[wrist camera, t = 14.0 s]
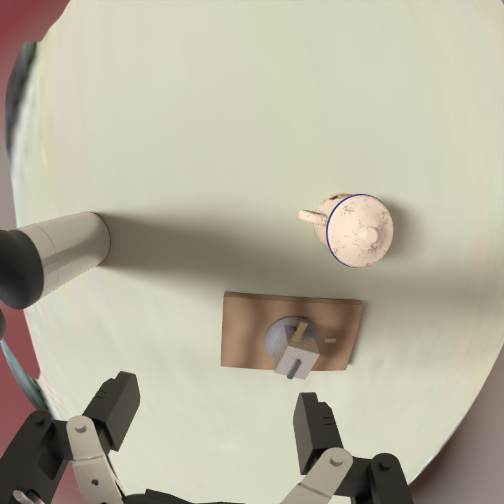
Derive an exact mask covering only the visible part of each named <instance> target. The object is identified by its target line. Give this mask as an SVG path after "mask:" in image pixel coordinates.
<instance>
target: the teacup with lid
mask: <svg viewBox="0 0 504 504" xmlns="http://www.w3.org/2000/svg"><path fill="white" fill-rule="evenodd" d="M299 218H300V219H301V220H303V221H306V222H309V223H313V224H314V229H315V233H316V235H317V237H318V239H319V240H320V242H321V243H322V244H323V245H324V246H325V247H327V248H328V249H329V250H330V251H331V253H332V254H333V256H334V257H335V258H336V259H337V260H338V261H339V262H341V263H342V264H344V265H347V266H349V267H354V268H361V267H367V266H370V265H372V264H374V263H376V262H377V261H379V260H380V259H381V258H382V257H383V256H384V255H385V254H386V252H387V251H388V249H389V247H390V245H391V242H392V239H393V231H394V230H393V221H392V217H391V215H390V213H389V211H388V209H387V208H386V206H385V205H384V204H383V203H382V202H381V201H380V200H378V199H377V198H375V197H373V196H370V195H366V194H356V195H350V194H335V195H332V196H330V197H328V198H326V199H325V200H324V201H323V202H322V203H321V204H320V205H319V207H318V208H317V210H316V212H312V211H308V210H301V211H300V212H299Z"/></svg>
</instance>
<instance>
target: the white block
mask: <svg viewBox="0 0 504 504" xmlns="http://www.w3.org/2000/svg"><path fill="white" fill-rule="evenodd" d="M307 325H308V323H307V321H305V320H302V319H299V321H298V323H297V325H296V327H295V329H294V328H291V327H288V326H284V327H283V329H282V331H281V333H280V335H279V337H278V339H277V341H276V343H275V345H274V347H273V349H272V354H273V364H274V372H275V373H279V374H283V375H287V378H288V379H292V378H293V377H296V378H300V379H306V377H307V375H308V374H309V372H310V370H311V369H312V367H313V365H314V364H315V362H316V360H317V359H318V357H319V355H320V353H319V351H318V348H317V345H316V343H315V340H314V337H313V334H311V333H308V332H304V331H305V329H306V327H307Z"/></svg>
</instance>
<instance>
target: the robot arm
mask: <svg viewBox="0 0 504 504" xmlns="http://www.w3.org/2000/svg"><path fill="white" fill-rule="evenodd" d="M109 248H110V235H109V232H108V229H107V226H106V224H105V223H104V221H103V220H102V219H101V218H100V217H99V216H98V215H96V214H94V213H91V212H83V213H78V214H74V215H69V216H64V217H60V218H56V219H52V220H48V221H43V222H40V223H36V224H32V225H28V226H25V227H21V228H17V229H14V230H10V231H6V230H0V300H1V301H2V302H4V303H5V304H6V305H7V306H9V307H11V308H13V309H18V310H19V309H25V308H27V307H29V306H30V305H32V304H33V303H35V302H36V301H38V300H39V299H41V298H43V297H44V296H46V295H47V294H49V293H50V292H52V291H54V290H55V289H57V288H59V287H60V286H62V285H63V284H65V283H67V282H68V281H70V280H72V279H73V278H75V277H77V276H79V275H80V274H82V273H84V272H85V271H87V270H89V269H91V268H92V267H94V266H96V265H98V264H99V263H101V262H102V261H103V260H104V259H105V258H106V256H107V254H108V252H109ZM5 330H6V321H5V318H4V316H3V313H2V311H1V309H0V340H1V339H2V337H3V335H4V333H5ZM139 404H140V393H139V388H138V383H137V378H136V375H135V374H132V373H128V372H124V371H120V372H119V374H118V375H117V377H116V378H115V379H112V378H110V379H109V380H107V381H106V382H104V383H103V384H102V386H101V387H100V389H99V391H98V392H97V393H96V395H95V396H94V398H93V399H92V401H91V402H90V404H89V405H88V407H87V408H86V410H85V411H84V413H83V414H82V416H75V417H72V418H71V419H69V421H60V420H53V419H52V417H51V416H50V414H49V413H48V412H46V411H42V410H37V411H34V412H33V413H31V414H30V415H29V417H28V418H27V419H26V421H25V422H24V424H23V425H22V427H21V428H20V429H19V431H18V432H17V434H16V435H15V437H14V438H13V440H12V441H11V443H10V445H9V446H8V448H7V449H6V451H5V452H4V454H3V456H2V457H1V459H0V504H50V503H51V501H52V498H53V496H54V494H55V491H56V489H57V487H58V484H59V482H60V480H61V477H62V475H63V473H64V471H65V469H66V466H67V464H68V462H69V460H72V466H73V470H74V473H75V476H76V480H77V483H78V486H79V489H80V492H81V495H82V498H83V500H84V503H85V504H195V503H191V502H188V501H185V500H183V499H180V498H178V497H175V496H173V495H171V494H167V493H162V492H158V491H154V490H150V489H146V492H145V494H132V495H126V493H125V491H124V489H123V487H122V485H121V483H120V481H119V479H118V477H117V474H116V472H115V470H114V467H113V465H112V463H111V460H110V457H109V455H108V454H109V452H110V450H114V451H117V452H118V451H119V449H120V446H121V444H122V442H123V440H124V437H125V435H126V433H127V431H128V429H129V426H130V424H131V422H132V420H133V418H134V416H135V413H136V411H137V409H138V407H139ZM293 425H294V431H295V438H296V445H297V452H298V459H299V466H300V473H301V475H306V476H305V478H304V479H303V480H302V481H301V482H300V483H298V484H297V485H296V486H295V487H294V488H293V490H292V491H291V492H290V493H289V494H288V495H287V496H286V497H285V499H284V500H283V501H282V502H281V503H280V504H328V502H329V501H330V499H331V497H332V496H333V495H338V496H347V497H350V499H351V504H414V503H413V500H412V497H411V494H410V491H409V488H408V485H407V482H406V479H405V476H404V474H403V471H402V468H401V465H400V462H399V460H398V459H397V458H396V457H395V456H394V455H392V454H389V453H381V454H378V455H376V456H375V457H374V458H373V459H365V458H357V457H354V456H352V455H351V454H350V453H349V452H348V451H347V450H345V449H344V447H343V445H342V441H341V438H340V435H339V431H338V428H337V425H336V422H335V418H334V415H333V412H332V409H331V408H330V407H329V406H328V405H327V403H326V402H318V399H317V395H316V393H315V392H309V393H299V396H298V400H297V404H296V408H295V411H294V416H293ZM198 504H243V503H228V502H213V503H198Z"/></svg>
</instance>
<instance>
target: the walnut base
mask: <svg viewBox="0 0 504 504" xmlns="http://www.w3.org/2000/svg"><path fill="white" fill-rule="evenodd" d="M363 307H364V305H363V303H362V302H361V301H360V300H342V299H321V298H303V297H288V296H273V295H260V294H247V293H236V292H225V294H224V302H223V322H222V344H221V366H225V367H236V368H249V369H265V370H274V364H273V354H272V349H273V347H274V345H275V343H276V341H277V339H278V337H279V335H280V333H281V331H282V329H283V327H284V326H288V327H291V328H294V329H295V327H296V325H297V323H298V321H299V319H302V320H305V321H307V323H308V325H307V327H306V329H305V331H304V332H308V333H311V334H313V337H314V340H315V343H316V345H317V348H318V351H319V353H320V355H319V357H318V359H317V360H316V362H315V364H314V365H313V367H312V369H311V370H310V371H336V370H346V368H347V364H348V361H349V358H350V355H351V351H352V348H353V345H354V341H355V337H356V334H357V330H358V326H359V323H360V319H361V315H362V311H363Z"/></svg>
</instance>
